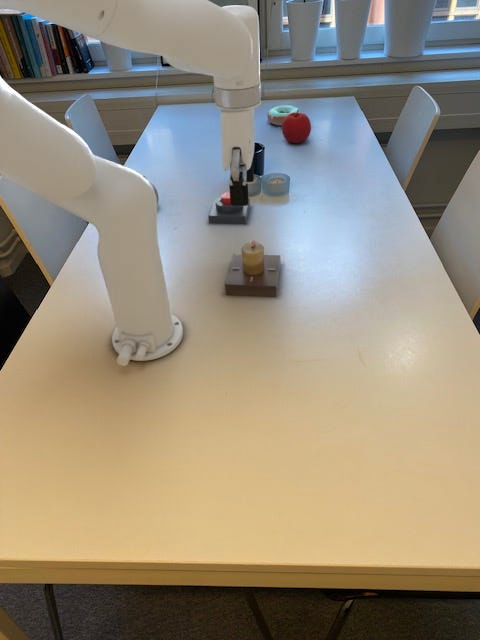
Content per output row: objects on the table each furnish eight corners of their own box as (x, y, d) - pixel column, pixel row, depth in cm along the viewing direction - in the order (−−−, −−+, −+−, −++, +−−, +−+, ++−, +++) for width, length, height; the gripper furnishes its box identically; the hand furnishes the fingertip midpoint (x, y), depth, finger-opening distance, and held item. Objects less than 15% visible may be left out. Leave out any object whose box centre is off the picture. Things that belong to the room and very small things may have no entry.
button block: (245, 224, 118) (245, 209, 115) (209, 223, 119) (207, 208, 116) (250, 207, 125) (249, 192, 122) (215, 206, 126) (214, 192, 123)
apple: (312, 136, 160) (313, 104, 154) (308, 147, 153) (309, 114, 147) (284, 135, 162) (284, 104, 156) (279, 145, 155) (279, 113, 149)
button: (235, 205, 118) (235, 198, 117) (220, 205, 118) (220, 198, 117) (237, 198, 121) (237, 191, 120) (223, 198, 121) (222, 191, 120)
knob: (263, 275, 97) (262, 252, 93) (241, 275, 97) (239, 252, 94) (265, 263, 100) (265, 240, 97) (244, 262, 101) (242, 240, 97)
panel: (276, 296, 95) (276, 285, 94) (225, 294, 97) (224, 283, 95) (280, 265, 104) (280, 254, 102) (233, 263, 105) (232, 253, 103)
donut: (302, 115, 176) (302, 104, 174) (300, 127, 167) (300, 115, 165) (269, 116, 178) (268, 104, 175) (265, 127, 169) (265, 115, 166)
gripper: (222, 81, 87) (228, 173, 98) (206, 113, 74) (215, 214, 85) (264, 80, 86) (266, 173, 97) (255, 112, 73) (258, 215, 84)
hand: (242, 192), depth 91 cm, fingers open, 9 cm apart
